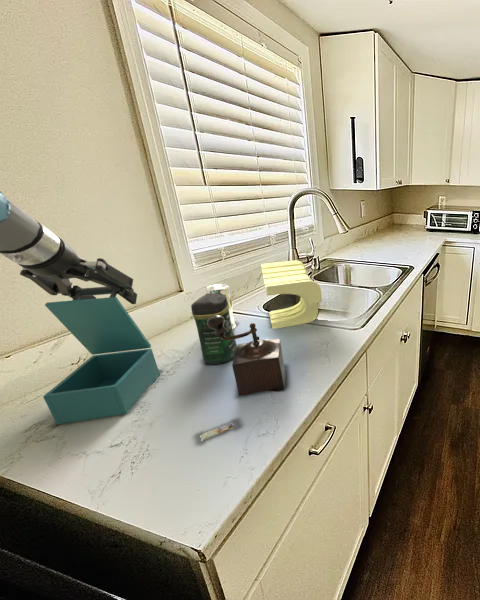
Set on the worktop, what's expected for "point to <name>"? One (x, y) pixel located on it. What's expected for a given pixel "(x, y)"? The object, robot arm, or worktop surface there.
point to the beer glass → (226, 291)
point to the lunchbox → (103, 386)
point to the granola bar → (216, 431)
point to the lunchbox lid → (99, 322)
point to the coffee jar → (211, 343)
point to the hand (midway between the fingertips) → (114, 300)
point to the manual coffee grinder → (254, 360)
